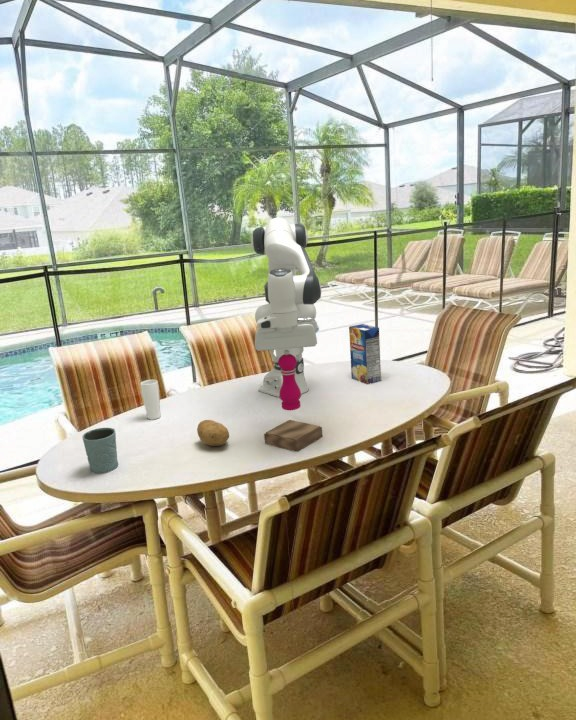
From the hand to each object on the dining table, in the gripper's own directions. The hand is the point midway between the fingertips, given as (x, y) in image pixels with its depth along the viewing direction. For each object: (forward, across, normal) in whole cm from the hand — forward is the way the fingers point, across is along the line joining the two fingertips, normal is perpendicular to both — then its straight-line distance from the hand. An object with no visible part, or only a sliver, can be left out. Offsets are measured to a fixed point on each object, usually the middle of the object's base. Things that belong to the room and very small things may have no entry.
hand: (287, 361), depth 183 cm
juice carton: (+28, -34, -61) cm, 76 cm away
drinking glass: (+28, +55, -34) cm, 70 cm away
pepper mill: (+16, 0, -1) cm, 16 cm away
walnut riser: (+28, 0, 0) cm, 28 cm away
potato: (+28, +27, -2) cm, 39 cm away
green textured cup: (+28, +62, +10) cm, 68 cm away
